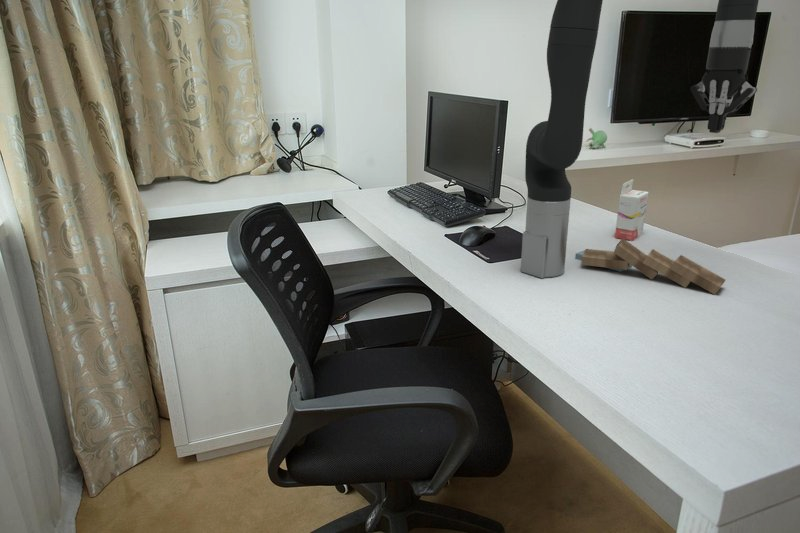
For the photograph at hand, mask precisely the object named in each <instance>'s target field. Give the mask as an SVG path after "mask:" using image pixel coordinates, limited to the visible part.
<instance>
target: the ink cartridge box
mask: <svg viewBox="0 0 800 533" xmlns="http://www.w3.org/2000/svg"><path fill="white" fill-rule="evenodd" d="M634 181H635V179H634V178H631V179H630V180H628V181H626V182H624V183H622V185H621V188H620V189H621V190H620V194H619V200H618V201H619V202H618V209H617V216H616V225H615V233H614V238H615V239H622V238H623V239H625V240H626V241H631V242H632V241H634V240H635V239H637V238H638V237H640V236H641V235H643V234H642V233H644V226H645V219H646V213H647V208H648V199H649V193H650V191H644V190H637V189H633V186H634ZM627 186H628V187H627Z"/></svg>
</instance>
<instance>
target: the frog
mask: <svg viewBox="0 0 800 533" xmlns="http://www.w3.org/2000/svg"><path fill="white" fill-rule="evenodd" d="M588 131H589V132H590V133H591V135H592V137H589V138H588V139H587V140H586V141H585V142H586V143H587V142H588V145H589V147H590V148H591V149H592V150H594V149H595V150H596V149H598V147H599V146H601V147H602V148H603V149H606V147H607V146H606V145H605V143H606V142H607V141H608V134H607V133H606V131H603V130H597V131H596V132H595V131H594V130H593V129H592V128H591V127H590V128H589V129H588ZM589 141H590V142H589Z"/></svg>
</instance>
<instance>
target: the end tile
mask: <svg viewBox="0 0 800 533" xmlns="http://www.w3.org/2000/svg"><path fill="white" fill-rule="evenodd" d="M585 250H586V249H584V250H581V251H578V252H575V258H574V259H575V260H580V261H581V262H582V255H583V254H584V252H585ZM632 267H633V266H632V265H631V264H629V267H628V269H630V268H632ZM605 268H606V267H604V269H605ZM606 269H607V268H606ZM608 269H609V270H613V271H616V272H619V273H620V272H624V271H626V270H625V269H616V268H608Z"/></svg>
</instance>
